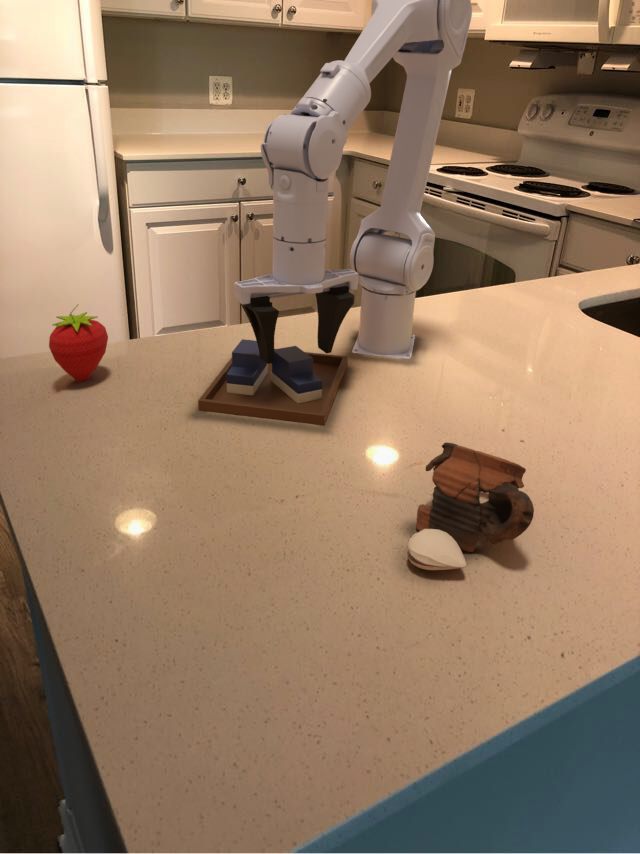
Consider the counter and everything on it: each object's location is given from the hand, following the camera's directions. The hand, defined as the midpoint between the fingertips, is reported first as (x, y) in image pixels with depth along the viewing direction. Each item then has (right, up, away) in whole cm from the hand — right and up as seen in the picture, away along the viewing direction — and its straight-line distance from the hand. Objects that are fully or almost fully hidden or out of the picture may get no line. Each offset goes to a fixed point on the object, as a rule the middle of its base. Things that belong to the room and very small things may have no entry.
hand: (296, 355), depth 82 cm
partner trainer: (-6, -3, +3) cm, 7 cm away
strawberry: (-26, -3, +3) cm, 26 cm away
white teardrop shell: (+12, -20, -25) cm, 34 cm away
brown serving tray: (-2, -4, +3) cm, 5 cm away
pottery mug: (+16, -17, -20) cm, 31 cm away
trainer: (0, -4, +2) cm, 4 cm away
